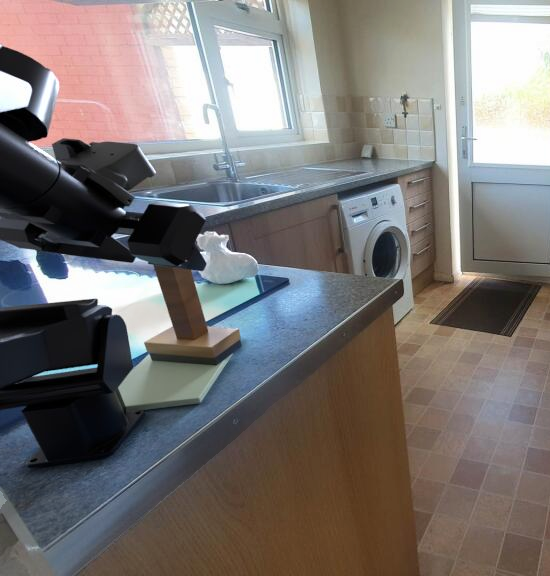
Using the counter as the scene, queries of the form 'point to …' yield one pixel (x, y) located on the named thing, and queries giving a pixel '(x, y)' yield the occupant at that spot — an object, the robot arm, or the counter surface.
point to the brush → (188, 325)
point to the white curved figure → (224, 260)
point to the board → (167, 384)
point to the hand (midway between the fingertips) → (168, 263)
